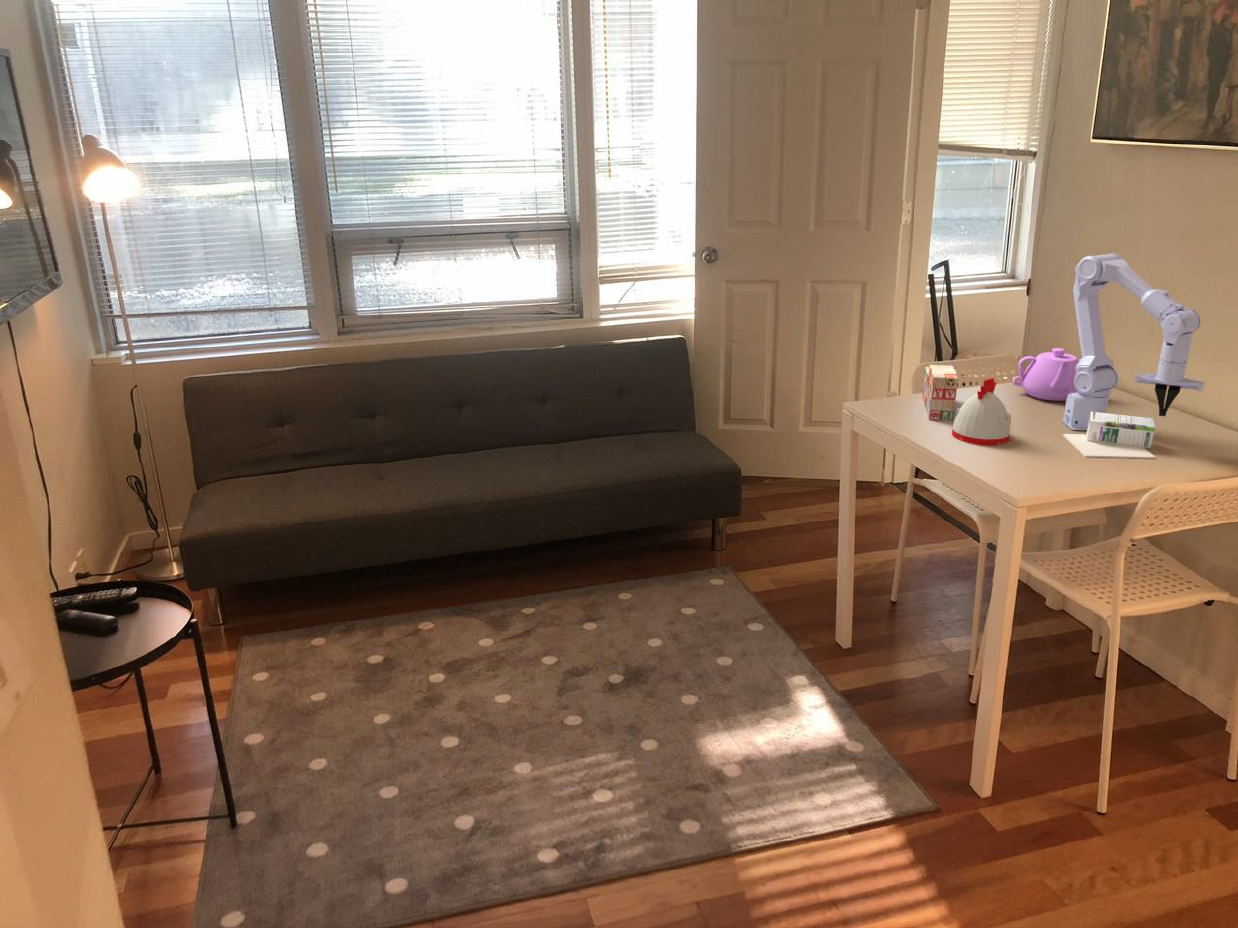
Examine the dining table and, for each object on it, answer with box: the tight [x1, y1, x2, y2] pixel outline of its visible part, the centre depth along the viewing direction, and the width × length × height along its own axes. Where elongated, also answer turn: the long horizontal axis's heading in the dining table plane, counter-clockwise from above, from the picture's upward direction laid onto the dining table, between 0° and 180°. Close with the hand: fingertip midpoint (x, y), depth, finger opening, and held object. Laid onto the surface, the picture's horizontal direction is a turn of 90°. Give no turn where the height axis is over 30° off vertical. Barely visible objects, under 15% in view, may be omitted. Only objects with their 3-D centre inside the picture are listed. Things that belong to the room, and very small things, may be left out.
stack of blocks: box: [922, 364, 959, 422], centre depth 267 cm, size 21×6×12 cm, turn 169°
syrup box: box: [1085, 412, 1156, 449], centre depth 241 cm, size 6×6×14 cm
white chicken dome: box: [951, 377, 1012, 446], centre depth 245 cm, size 14×14×15 cm
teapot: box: [1012, 347, 1096, 402], centre depth 276 cm, size 22×22×14 cm
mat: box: [1062, 433, 1156, 460], centre depth 240 cm, size 16×16×1 cm
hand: (1162, 415), depth 236 cm, fingers closed
